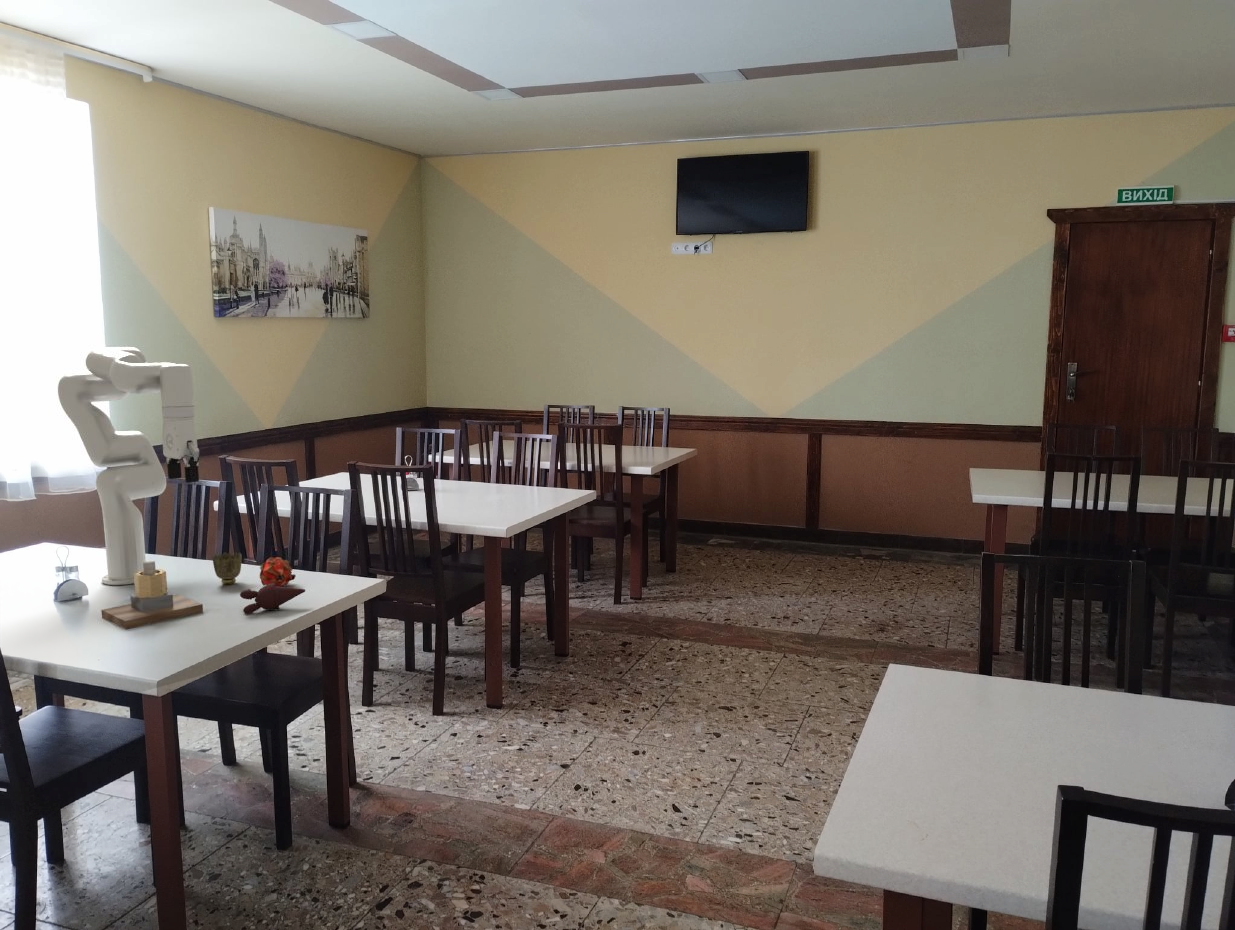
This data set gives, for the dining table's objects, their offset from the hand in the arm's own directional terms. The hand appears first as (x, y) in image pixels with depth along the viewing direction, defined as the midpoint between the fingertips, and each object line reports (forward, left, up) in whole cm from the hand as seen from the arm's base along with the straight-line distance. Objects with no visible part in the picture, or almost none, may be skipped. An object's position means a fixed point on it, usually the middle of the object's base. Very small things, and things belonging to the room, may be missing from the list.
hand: (183, 480), depth 242 cm
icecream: (+28, +7, -31) cm, 42 cm away
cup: (-4, +12, -31) cm, 33 cm away
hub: (+10, -14, -25) cm, 31 cm away
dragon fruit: (+9, +19, -31) cm, 37 cm away
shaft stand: (+10, -14, -30) cm, 35 cm away
